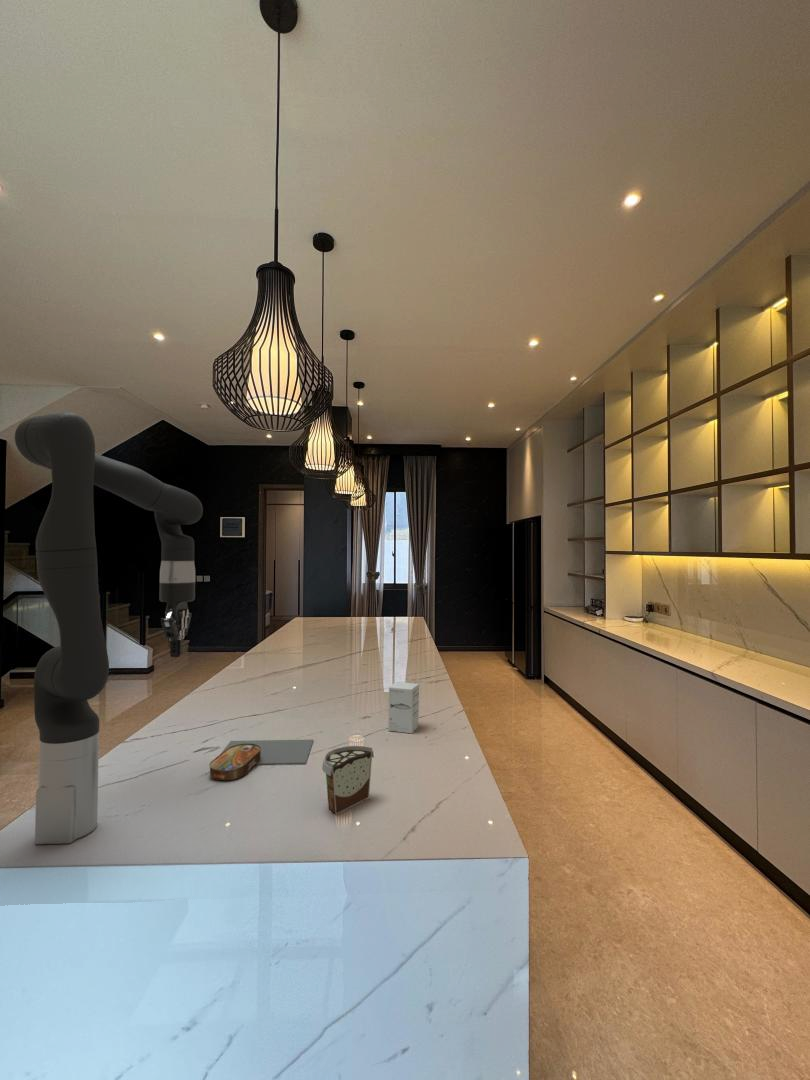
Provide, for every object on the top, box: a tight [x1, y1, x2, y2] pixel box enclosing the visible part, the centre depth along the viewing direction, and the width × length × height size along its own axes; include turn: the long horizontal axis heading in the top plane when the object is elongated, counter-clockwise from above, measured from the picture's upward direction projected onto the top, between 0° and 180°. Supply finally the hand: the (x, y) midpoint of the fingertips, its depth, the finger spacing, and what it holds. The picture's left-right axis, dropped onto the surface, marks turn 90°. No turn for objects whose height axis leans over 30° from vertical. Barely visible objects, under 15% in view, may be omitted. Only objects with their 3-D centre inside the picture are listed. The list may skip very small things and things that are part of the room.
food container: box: [321, 745, 375, 816], centre depth 108 cm, size 12×6×10 cm, turn 141°
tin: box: [209, 743, 261, 781], centre depth 125 cm, size 15×3×8 cm
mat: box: [220, 739, 314, 766], centre depth 135 cm, size 16×22×1 cm
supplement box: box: [387, 681, 420, 734], centre depth 154 cm, size 7×7×13 cm
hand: (176, 656), depth 121 cm, fingers closed
